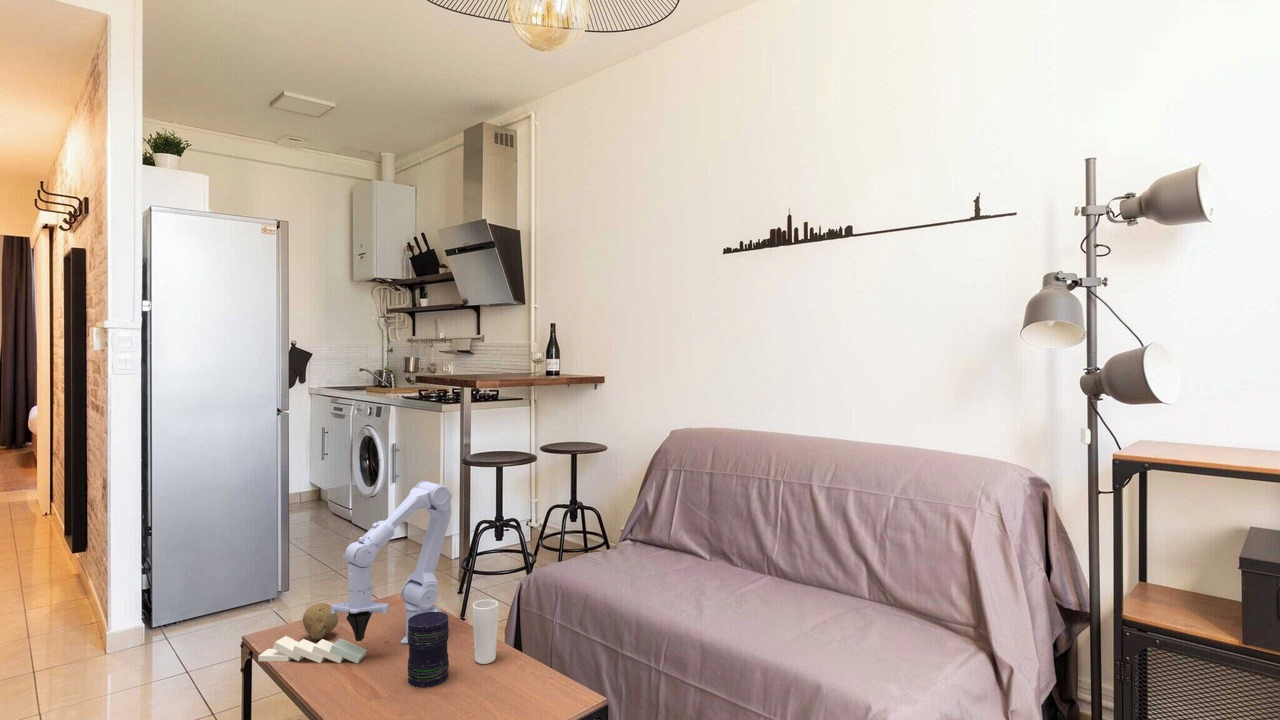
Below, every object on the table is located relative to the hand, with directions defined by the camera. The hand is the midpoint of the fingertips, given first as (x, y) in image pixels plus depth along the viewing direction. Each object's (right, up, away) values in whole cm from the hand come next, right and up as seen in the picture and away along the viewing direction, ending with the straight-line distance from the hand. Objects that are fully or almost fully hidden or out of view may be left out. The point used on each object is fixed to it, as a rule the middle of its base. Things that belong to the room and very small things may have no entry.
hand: (359, 639), depth 178 cm
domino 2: (-15, -4, +1) cm, 16 cm away
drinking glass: (+33, -6, 0) cm, 34 cm away
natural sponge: (-17, -5, +13) cm, 22 cm away
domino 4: (-4, -5, 0) cm, 6 cm away
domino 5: (+1, -5, 0) cm, 5 cm away
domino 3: (-9, -5, 0) cm, 10 cm away
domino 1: (-18, -5, +1) cm, 19 cm away
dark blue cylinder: (+21, -6, -10) cm, 24 cm away
